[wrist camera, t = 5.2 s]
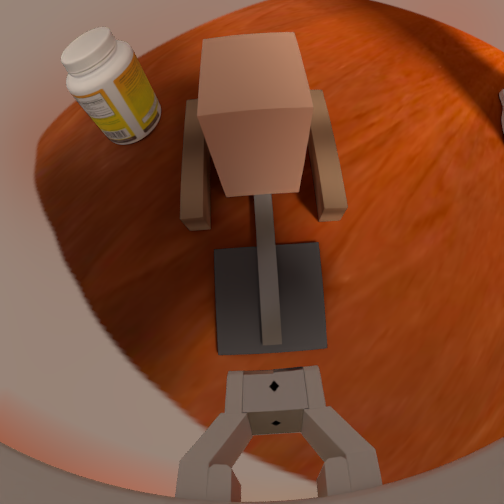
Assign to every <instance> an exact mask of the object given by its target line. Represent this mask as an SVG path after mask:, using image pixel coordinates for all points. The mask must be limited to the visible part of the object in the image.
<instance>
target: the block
mask: <svg viewBox="0 0 504 504" xmlns="http://www.w3.org/2000/svg"><path fill="white" fill-rule="evenodd" d="M313 108H314V107H313V102H312V98H311V94H310V90H309V86H308V81H307V77H306V74H305V70H304V66H303V62H302V58H301V55H300V51H299V47H298V44H297V40H296V37H295V34H294V32H280V33H258V34H245V35H234V36H225V37H217V38H210V39H203V45H202V55H201V67H200V79H199V92H198V108H197V118H198V120H199V123H200V126H201V129H202V131H203V134H204V137H205V140H206V143H207V145H208V148H209V151H210V154H211V156H212V159H213V162H214V165H215V167H216V170H217V173H218V176H219V178H220V181H221V184H222V187H223V190H224V192H225V195H226V197H235V196H247V195H260V194H275V193H291V192H299V188H300V183H301V178H302V172H303V167H304V161H305V155H306V150H307V144H308V138H309V132H310V126H311V120H312V114H313Z"/></svg>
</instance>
